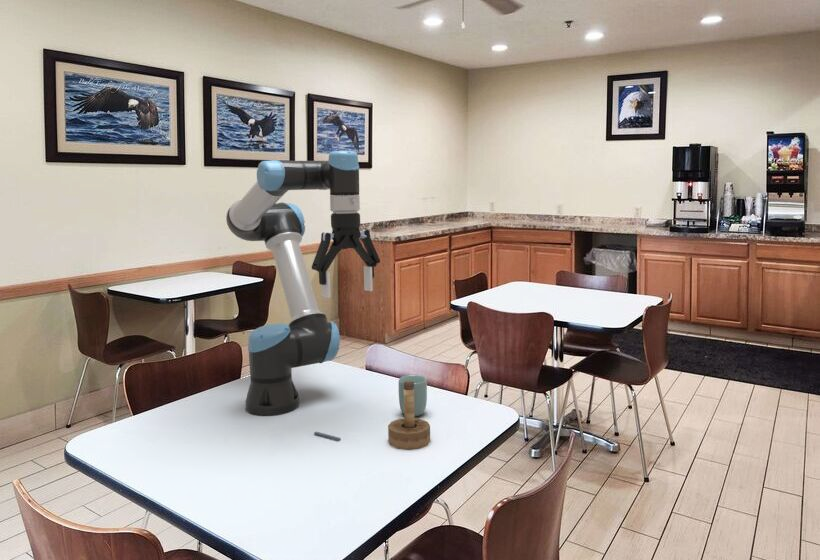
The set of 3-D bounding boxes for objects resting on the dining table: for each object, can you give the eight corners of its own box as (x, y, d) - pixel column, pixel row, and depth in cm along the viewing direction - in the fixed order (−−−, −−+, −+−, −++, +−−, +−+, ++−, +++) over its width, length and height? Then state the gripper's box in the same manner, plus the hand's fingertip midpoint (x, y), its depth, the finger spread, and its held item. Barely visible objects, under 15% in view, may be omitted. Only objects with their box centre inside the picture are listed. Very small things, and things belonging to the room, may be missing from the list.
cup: (424, 420, 168) (424, 384, 167) (396, 418, 170) (395, 383, 168) (429, 410, 176) (428, 375, 174) (402, 408, 177) (401, 374, 176)
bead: (380, 440, 155) (380, 425, 155) (410, 429, 162) (410, 415, 161) (407, 452, 148) (407, 436, 147) (437, 441, 154) (437, 425, 154)
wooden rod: (402, 441, 155) (401, 382, 153) (410, 438, 156) (409, 380, 154) (409, 444, 153) (408, 384, 151) (417, 441, 155) (416, 382, 152)
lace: (314, 434, 160) (314, 432, 160) (316, 433, 160) (316, 431, 160) (338, 441, 155) (338, 439, 155) (340, 440, 156) (340, 437, 156)
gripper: (312, 214, 150) (315, 301, 153) (391, 210, 166) (393, 289, 169) (295, 214, 155) (299, 298, 158) (374, 210, 172) (376, 286, 175)
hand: (348, 293), depth 164 cm, fingers open, 13 cm apart
